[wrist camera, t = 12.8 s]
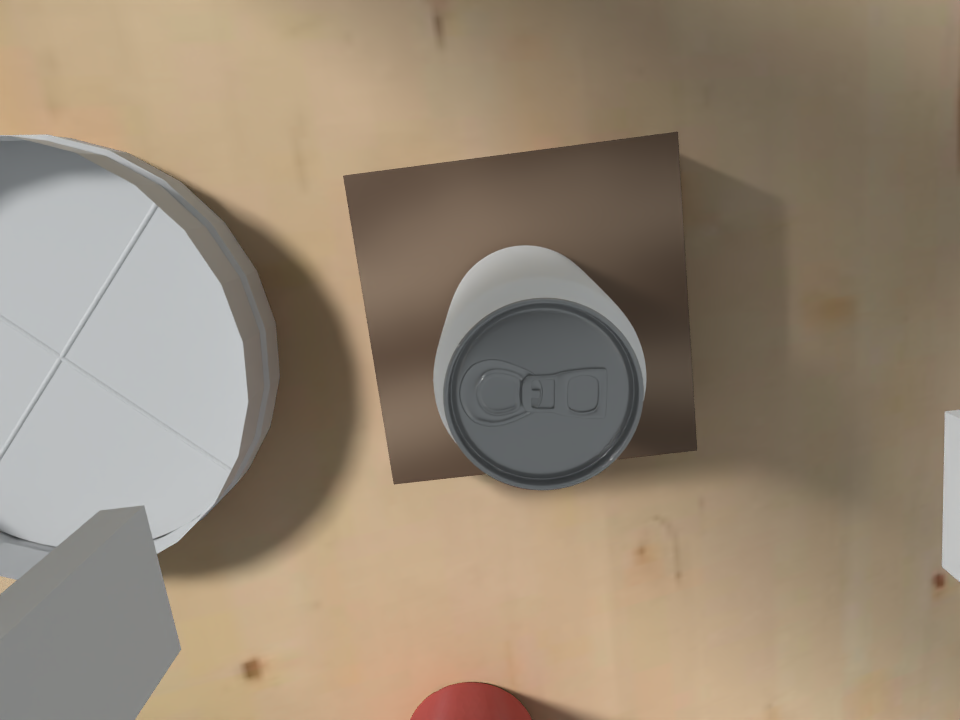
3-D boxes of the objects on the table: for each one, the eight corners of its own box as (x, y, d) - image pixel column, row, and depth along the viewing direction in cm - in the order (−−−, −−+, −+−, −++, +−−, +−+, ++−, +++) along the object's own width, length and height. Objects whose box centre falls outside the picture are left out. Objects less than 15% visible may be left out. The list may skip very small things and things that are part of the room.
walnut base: (366, 177, 37) (343, 175, 31) (647, 140, 36) (677, 131, 30) (408, 440, 40) (393, 484, 34) (666, 410, 39) (697, 450, 33)
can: (448, 244, 31) (424, 283, 20) (600, 242, 31) (665, 281, 20) (451, 389, 33) (430, 505, 21) (596, 388, 33) (654, 504, 21)
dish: (-11, 41, 36) (-90, 18, 31) (362, 309, 39) (344, 328, 34) (-199, 391, 40) (-294, 420, 35) (148, 609, 43) (105, 663, 38)
